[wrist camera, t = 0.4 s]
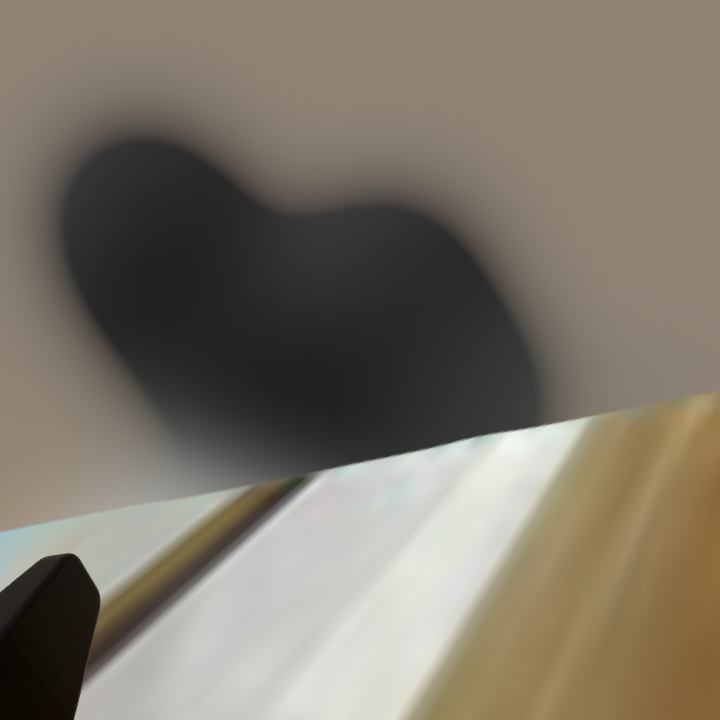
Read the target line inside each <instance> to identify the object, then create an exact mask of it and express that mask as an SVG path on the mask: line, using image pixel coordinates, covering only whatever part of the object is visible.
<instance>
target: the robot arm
mask: <svg viewBox="0 0 720 720" xmlns="http://www.w3.org/2000/svg"><path fill="white" fill-rule="evenodd" d="M99 611H100V594H99V591H98V589H97V587H96V585H95V584H94V582H93V580H92V579H91V577H90V575H89V574H88V572H87V570H86V569H85V567H84V565H83V564H82V562H81V560H80V559H79V558H78V557H77V556H76V555H74V554H70V553H67V554H60V555H53V556H47V557H44V558H42V559H40V560H39V561H38V562H36V563H35V564H34V565H33V566H32V567H30V568H29V569H28V570H27V571H26V572H24V573H23V574H22V575H21V576H19V577H18V578H17V579H16V580H15V581H13V582H12V583H11V584H10V585H8V586H7V587H6V588H5V589H4V590H2V591H1V592H0V720H74V717H75V713H76V710H77V706H78V702H79V698H80V693H81V689H82V685H83V680H84V676H85V672H86V667H87V663H88V659H89V654H90V650H91V646H92V641H93V637H94V633H95V628H96V624H97V620H98V615H99Z"/></svg>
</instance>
